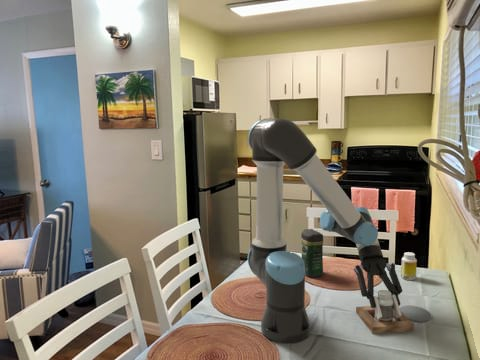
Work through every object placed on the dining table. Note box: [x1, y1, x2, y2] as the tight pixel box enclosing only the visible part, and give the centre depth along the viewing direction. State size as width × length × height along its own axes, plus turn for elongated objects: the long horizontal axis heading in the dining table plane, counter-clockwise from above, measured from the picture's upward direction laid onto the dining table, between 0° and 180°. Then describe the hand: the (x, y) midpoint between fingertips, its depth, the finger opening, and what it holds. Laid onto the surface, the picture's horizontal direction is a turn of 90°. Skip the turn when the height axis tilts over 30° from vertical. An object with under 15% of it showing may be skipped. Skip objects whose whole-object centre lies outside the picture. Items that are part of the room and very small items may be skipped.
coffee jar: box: [300, 228, 324, 278], centre depth 161 cm, size 10×8×19 cm
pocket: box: [355, 305, 415, 334], centre depth 123 cm, size 13×13×2 cm
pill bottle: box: [374, 289, 394, 323], centre depth 122 cm, size 5×5×10 cm
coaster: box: [399, 305, 432, 323], centre depth 127 cm, size 10×10×1 cm
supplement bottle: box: [400, 251, 418, 281], centre depth 155 cm, size 6×6×10 cm
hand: (389, 317), depth 119 cm, fingers closed on pill bottle, 5 cm apart
